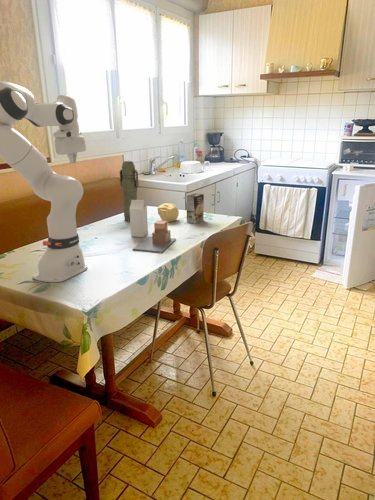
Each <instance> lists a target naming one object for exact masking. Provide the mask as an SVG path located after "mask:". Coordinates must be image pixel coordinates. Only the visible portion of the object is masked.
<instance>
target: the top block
mask: <svg viewBox="0 0 375 500" xmlns="http://www.w3.org/2000/svg"><path fill="white" fill-rule="evenodd" d="M153 225H154V227H153V228H154V231H155V233H163V234H164V233H165V232H167V231H168V230H169V229H168V228H169V227H168V222H167V221H163V220H157V221H155V222H154V223H153Z"/></svg>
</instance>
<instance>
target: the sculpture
mask: <svg viewBox="0 0 375 500" xmlns="http://www.w3.org/2000/svg"><path fill="white" fill-rule="evenodd" d="M179 213H180V212H179V209H178V207H177V206H176V204H174V203H170V202H168V203H167V202H165V203H162V204H160V205H158V206H157V214H158V216H159V217H160V219H161V221H167V223H171V222H174V221H176V220H177V219H179V215H180V214H179Z"/></svg>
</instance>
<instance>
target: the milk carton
mask: <svg viewBox="0 0 375 500" xmlns="http://www.w3.org/2000/svg"><path fill="white" fill-rule="evenodd" d="M146 204H147V203H146V202H145V199H137V200H131V205H130V221H129V223H130V234H131V236H130V237H132V238H133V237H135V238H136V237H137V238H144V237H146V236H147V235H148V234H149V228H148V227H149V226H148V225H149V224H148V207H147V206H148V205H146Z"/></svg>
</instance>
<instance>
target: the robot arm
mask: <svg viewBox="0 0 375 500" xmlns="http://www.w3.org/2000/svg"><path fill="white" fill-rule="evenodd" d="M78 115H79V114H78V107H77V103H76V100H75V98H74V97H73V96H71V95H67V94H66V95H65V94H61V95H58V96H57V98H56V100H55V101H54V102H49V103H48V102H45V103H42V102H41V103H40V102H36V100H35V96H34V95H33V93H32V92H31V91H30V90H28V89H27V88H26V87H23V86H21V85H18V84H16V83H14V82H13V83H12V82H10V81H5V80H0V158H1V160H3V161H4V162H5V163H6V164H7V165H9V166H10V167H11V168H12V169H13V170H14V171H15V172H16V173H17V174H18V175H20V176H21V177H22V178H23V179H24V180H25V181H26V183H28V185H29V186H30V187H31V189H32V191H33V193H34V194H35V195H36V196H38V197H39V198H41V199H42V200H45V201H48V202H50V204H51V205H50V212H49V214H48V215H47V217H46V225H47V231H48V237H47V240H43V241H42V246H44V247H45V246H46V247H47V248H46V249H45V251H44V253H43V255H42V256H41V258H40V259H39V261H38V265H37V269H38V270H37V272H35V273H34V274H33V275H32V278H33V279H34V280H35V281H39V282H45V283H46V282H47V283H60V282H64V281H66V280H68V279H70V278H73V277H74V276H76V275H78V274H80V273H82V272H84V271H86V270H88V266H87V265H86V263H85V258H84V254H83V250H82V248H81V246H80V244H79V243H80V236H79V233H78V229H77V220H76V219H77V218H76V214H77V213H76V212H77V207H78V204H79V202H80V201H81V200H82V198H83V197H84V196H83V195H84V187H83V185H82V183H81V182H80V181H79V180H78V179H76V178H74V177H73V176H69V175H64V174H59V173H57V172H55V171H54V170H53V169H52V168H51V166H50V165H49V164H48V159H47V157H46V156H45V155H44V154H43V153H42V152H41V151H40V150H39V149H38V148H37V147H36V146H35V145H34V144H32V143H31V142H30V140H28V139H27V138H26V137H25V136H24V135H23V134H22V133H20V132H19V131H18V130H16V129H15V128H14V125H15V124H17V122H18V121H21V120H23V119H26V120H27V121H29V122H30V123H31V124H32V125H33V126H35V127H41V128H42V127H59V129H56V131H54V132H53V134H52V135H53V138H54V148H55V153H56V154H57V156H59V155H60V156H64V155H67V158H68V159H69V164H74V163H75V164H76V163H77V157H78V153H82V152H85V151H86V150H87V144H86V141H85V137H84V135H83V134H82V132H80V125H79V122H78V118H79V116H78Z"/></svg>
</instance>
